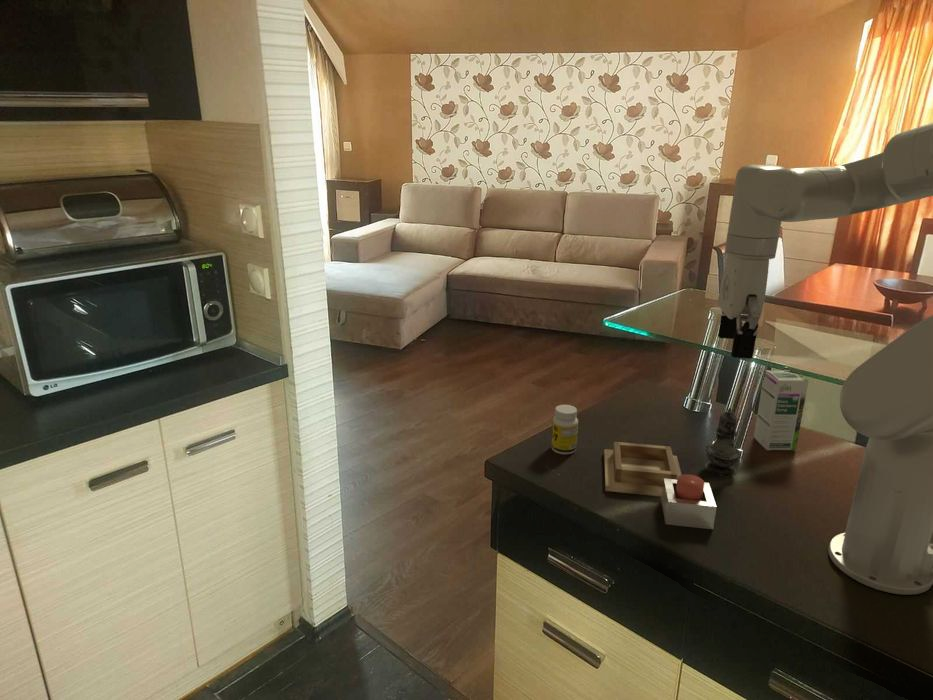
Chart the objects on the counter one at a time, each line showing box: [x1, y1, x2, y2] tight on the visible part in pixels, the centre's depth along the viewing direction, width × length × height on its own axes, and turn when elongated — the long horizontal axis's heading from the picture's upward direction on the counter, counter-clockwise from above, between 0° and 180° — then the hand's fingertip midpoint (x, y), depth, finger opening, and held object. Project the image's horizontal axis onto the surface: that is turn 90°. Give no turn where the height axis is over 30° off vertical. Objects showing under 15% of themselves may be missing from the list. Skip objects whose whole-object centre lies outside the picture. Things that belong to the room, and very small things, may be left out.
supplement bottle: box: [550, 404, 579, 455], centre depth 121 cm, size 5×5×8 cm
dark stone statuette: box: [704, 407, 742, 477], centre depth 114 cm, size 6×6×12 cm
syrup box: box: [753, 369, 809, 452], centre depth 123 cm, size 6×6×14 cm
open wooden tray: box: [603, 441, 682, 497], centre depth 113 cm, size 13×13×4 cm
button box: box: [660, 478, 718, 530], centre depth 102 cm, size 7×7×4 cm
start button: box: [675, 473, 705, 501], centre depth 101 cm, size 4×4×3 cm
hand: (734, 347), depth 108 cm, fingers open, 9 cm apart
